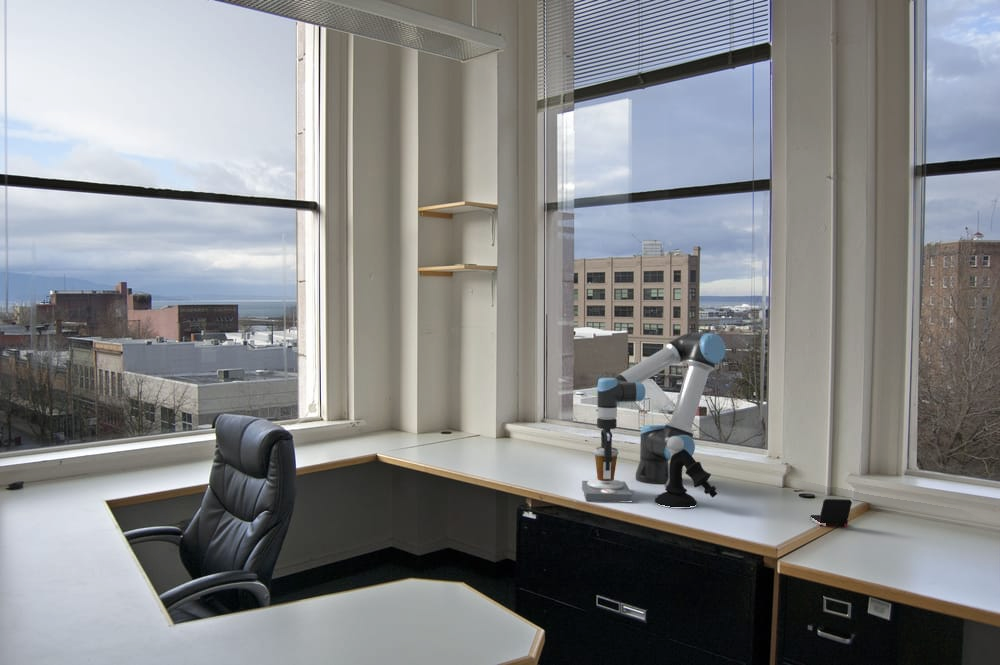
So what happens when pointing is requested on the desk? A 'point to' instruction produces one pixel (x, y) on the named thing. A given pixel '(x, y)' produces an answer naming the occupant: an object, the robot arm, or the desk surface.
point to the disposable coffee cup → (600, 465)
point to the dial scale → (606, 490)
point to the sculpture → (674, 484)
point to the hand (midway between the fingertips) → (605, 475)
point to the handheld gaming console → (834, 512)
